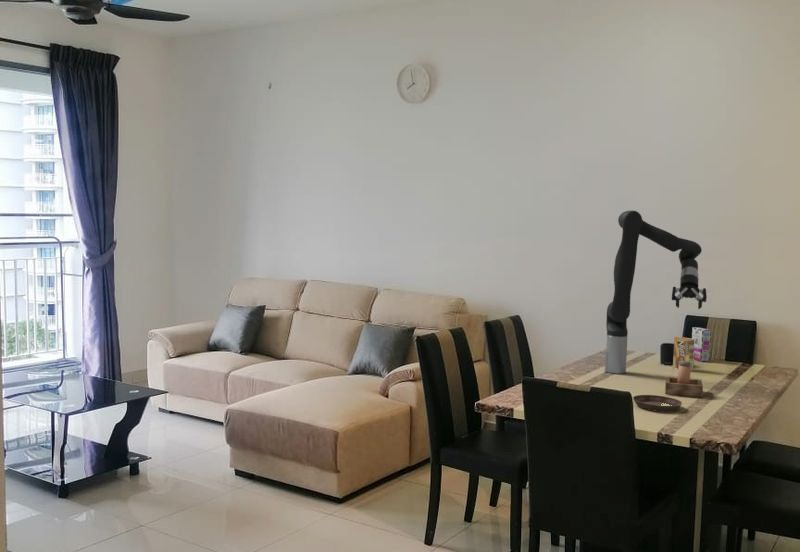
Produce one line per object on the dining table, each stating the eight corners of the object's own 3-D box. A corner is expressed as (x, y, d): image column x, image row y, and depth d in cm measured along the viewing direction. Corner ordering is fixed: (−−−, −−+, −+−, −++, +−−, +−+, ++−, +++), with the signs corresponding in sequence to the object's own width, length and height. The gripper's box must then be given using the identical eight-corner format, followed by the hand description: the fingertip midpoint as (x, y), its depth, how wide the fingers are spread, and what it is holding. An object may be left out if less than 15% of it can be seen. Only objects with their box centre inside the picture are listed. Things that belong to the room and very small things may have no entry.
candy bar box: (710, 362, 386) (711, 330, 385) (700, 362, 386) (702, 330, 384) (699, 358, 397) (700, 327, 396) (690, 358, 397) (691, 327, 396)
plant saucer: (677, 404, 294) (678, 396, 294) (685, 415, 276) (685, 406, 276) (630, 400, 297) (630, 393, 297) (635, 411, 280) (635, 403, 280)
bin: (665, 394, 308) (665, 383, 308) (665, 387, 322) (665, 376, 321) (702, 398, 304) (702, 386, 304) (700, 390, 317) (701, 379, 317)
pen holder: (655, 363, 379) (656, 343, 378) (669, 362, 383) (670, 342, 382) (669, 366, 370) (670, 346, 370) (683, 365, 374) (684, 345, 374)
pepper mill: (676, 391, 311) (679, 362, 310) (676, 388, 316) (678, 360, 315) (689, 392, 310) (691, 363, 309) (688, 390, 314) (690, 361, 313)
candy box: (693, 370, 362) (695, 338, 361) (688, 371, 359) (689, 339, 358) (677, 367, 369) (679, 336, 368) (672, 368, 367) (673, 336, 366)
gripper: (672, 272, 338) (671, 300, 328) (707, 274, 333) (707, 302, 323) (672, 283, 343) (671, 311, 333) (705, 285, 339) (705, 313, 329)
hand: (688, 307), depth 328 cm, fingers open, 8 cm apart
